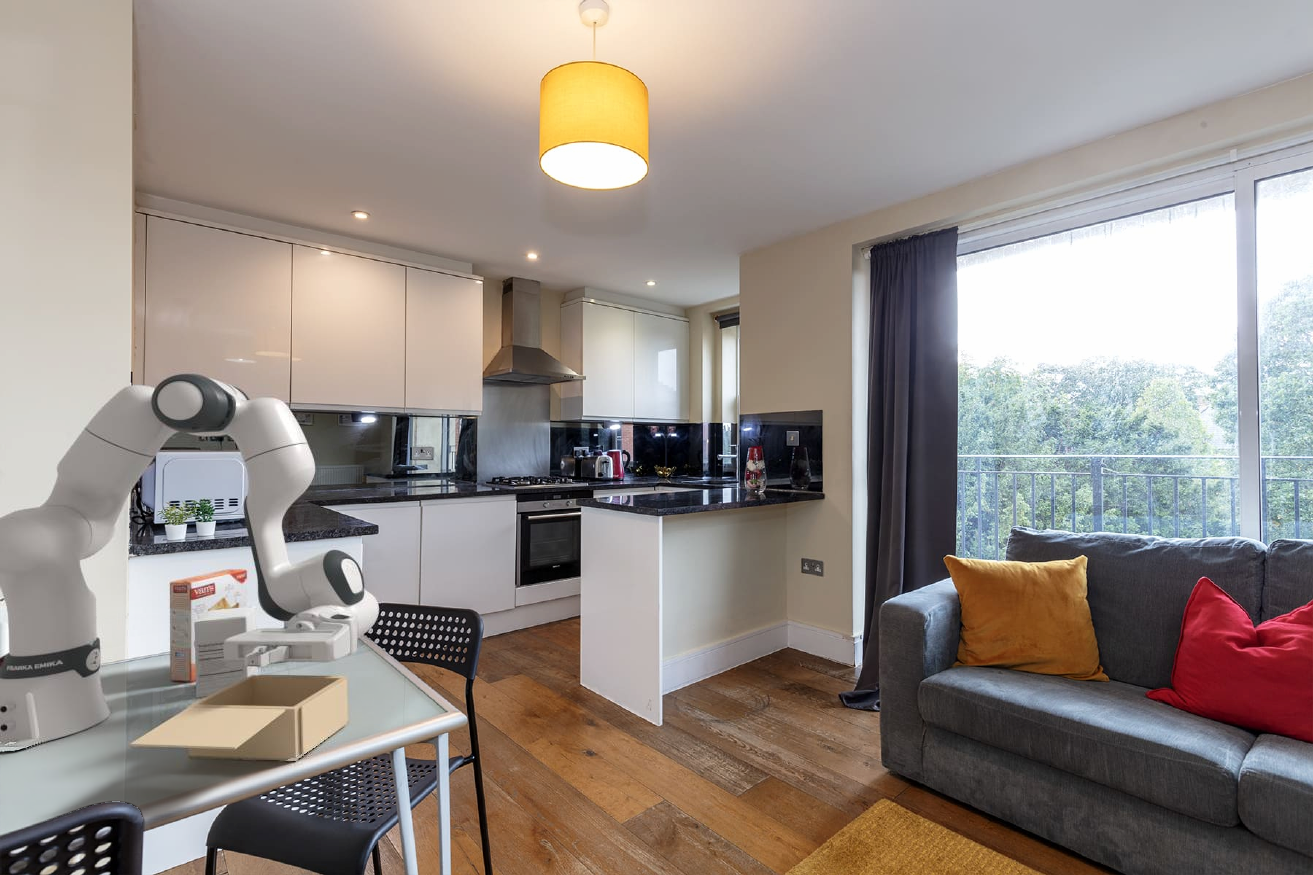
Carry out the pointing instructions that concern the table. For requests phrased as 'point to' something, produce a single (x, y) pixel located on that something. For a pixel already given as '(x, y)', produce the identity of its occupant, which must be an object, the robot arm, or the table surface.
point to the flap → (209, 728)
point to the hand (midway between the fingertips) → (252, 661)
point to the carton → (304, 724)
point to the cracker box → (199, 613)
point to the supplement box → (220, 648)
